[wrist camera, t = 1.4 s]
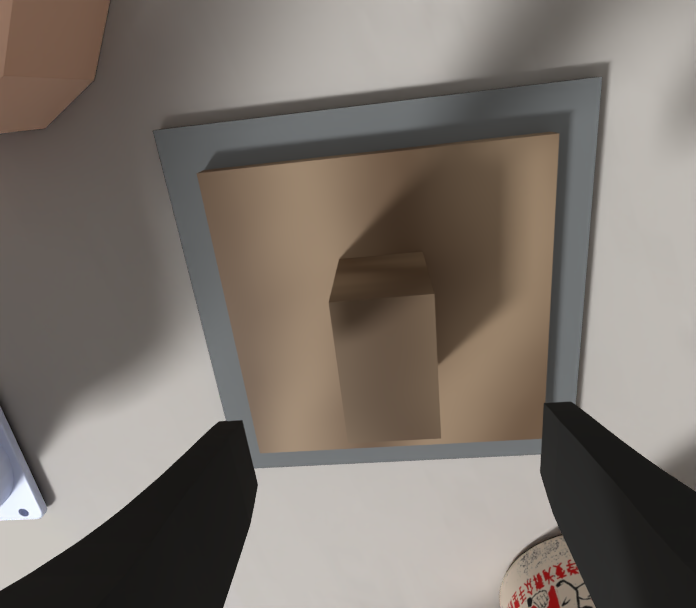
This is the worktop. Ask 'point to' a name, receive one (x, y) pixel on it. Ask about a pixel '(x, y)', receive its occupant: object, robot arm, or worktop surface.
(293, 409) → the walnut lid
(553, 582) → the teacup with lid
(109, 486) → the worktop surface
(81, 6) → the terracotta bowl
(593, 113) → the rubber mat
